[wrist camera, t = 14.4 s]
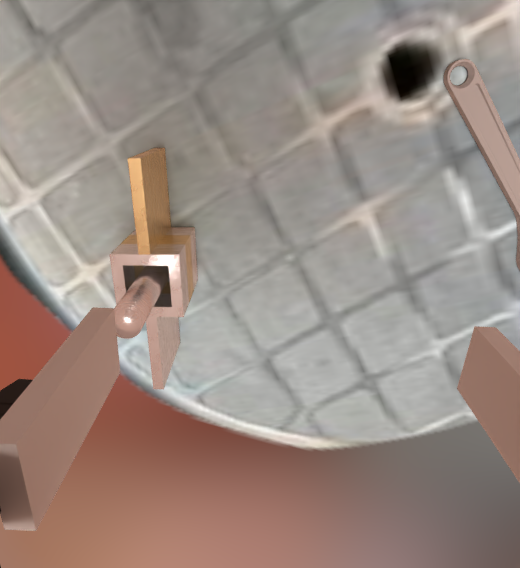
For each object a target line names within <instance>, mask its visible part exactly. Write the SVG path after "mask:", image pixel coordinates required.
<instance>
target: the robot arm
mask: <svg viewBox="0 0 520 568" xmlns="http://www.w3.org/2000/svg"><path fill="white" fill-rule="evenodd" d="M119 373H120V366H119V355H118V345H117V334H116V324H115V313H114V309H112V308H92V309H91V310H90V312H89V313H88V314H87V315H86V316H85V318H84V319H83V320H82V321H81V322H80V324H79V325H78V326H77V327H76V329H75V330H74V331H73V332H72V333H71V335H70V336H69V337H68V338H67V339H66V341H65V342H64V343H63V344H62V346H61V347H60V348H59V349H58V350H57V352H56V353H55V354H54V355H53V357H52V358H51V359H50V360H49V361H48V362H47V364H46V365H45V366H44V367H43V368H42V370H41V371H40V372H39V373H38V375H37V376H36V377H35V378H34V380H26V379H18V380H16V381H15V382H14V383H12V384H10V385H9V386H7V387H5V388H4V389H2V390H1V391H0V514H1V518H2V522H3V525H4V529H7V530H29V531H36V530H37V528H38V526H39V524H40V522H41V520H42V518H43V517H44V515H45V513H46V511H47V509H48V507H49V505H50V503H51V501H52V500H53V498H54V496H55V494H56V492H57V490H58V488H59V486H60V484H61V483H62V481H63V479H64V477H65V475H66V473H67V471H68V469H69V467H70V466H71V464H72V462H73V460H74V458H75V456H76V454H77V453H78V451H79V449H80V447H81V445H82V443H83V441H84V439H85V437H86V435H87V434H88V432H89V430H90V428H91V426H92V424H93V422H94V420H95V419H96V417H97V415H98V413H99V411H100V409H101V407H102V405H103V404H104V402H105V400H106V398H107V396H108V394H109V392H110V390H111V388H112V387H113V385H114V383H115V381H116V379H117V377H118V375H119ZM457 389H458V391H459V392H460V394H461V395H462V397H463V398H464V400H465V401H466V403H467V404H468V406H469V407H470V409H471V410H472V412H473V413H474V415H475V416H476V418H477V419H478V421H479V422H480V424H481V425H482V427H483V428H484V430H485V431H486V433H487V434H488V436H489V437H490V439H491V440H492V442H493V443H494V445H495V446H496V448H497V449H498V451H499V452H500V454H501V455H502V457H503V458H504V460H505V461H506V463H507V464H508V466H509V467H510V469H511V471H512V472H513V474H514V475H515V477H516V478H517V480H518V481H519V483H520V351H519V350H518V349H517V348H516V347H515V346H514V345H513V344H512V343H511V342H510V341H509V340H508V339H507V338H506V337H505V336H504V335H503V334H502V333H501V332H500V331H499V330H498V329H497V328H495V327H474V331H473V334H472V338H471V341H470V345H469V348H468V352H467V356H466V359H465V363H464V366H463V370H462V373H461V377H460V380H459V384H458V387H457ZM0 568H1V566H0Z"/></svg>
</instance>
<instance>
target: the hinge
mask: <svg viewBox="0 0 520 568" xmlns="http://www.w3.org/2000/svg"><path fill="white" fill-rule="evenodd" d="M128 165H129V174H130V183H131V192H132V201H133V210H134V218H135V227H136V229H135V230H134V231H133V232H132V233H131V234H130V235H129V236H128V237H127V238H126V239H125V240H124V241H123V242H122V243H121V244H120V245H119V246H118V247H117V248H116V249H115V250H114V251H113V252H112V253H111V254H110V261H111V268H112V275H113V282H114V289H115V297H116V304H118V303H119V301H120V300H121V299H122V297H123V296H124V294H125V293H126V292H127V290H128V289H129V288H130V286H131V285H132V284H133V282H134V281H135V280H136V278H137V277H138V276H139V274H140V273H141V271H142V270H143V269H144V267H145V266H169V280H168V281H167V283H166V285H165V287H164V289H163V291H162V292H161V294H160V296H159V298H158V300H157V301H156V303H155V305H154V307H153V309H152V311H151V312H150V314H149V316H148V318H147V320H146V325H147V334H148V343H149V352H150V361H151V370H152V379H153V388H154V389H164V387H165V384H166V381H167V379H168V376H169V373H170V370H171V367H172V364H173V362H174V359H175V356H176V353H177V350H178V348H179V345H180V333H179V320H178V317H184V315H185V312H186V310H187V307H188V304H189V302H190V299H191V297H192V294H193V291H194V289H195V286H196V283H197V281H198V274H197V257H196V240H195V227H171V219H170V207H169V194H168V181H167V169H166V156H165V148H153V149H150V150H148V151H145V152H143V153H140V154H138V155H135V156H133V157H130V158H128Z"/></svg>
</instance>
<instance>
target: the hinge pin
mask: <svg viewBox="0 0 520 568" xmlns="http://www.w3.org/2000/svg"><path fill="white" fill-rule="evenodd" d="M168 280H169V266H145V267H144V269H143V270H142V271H141V273H140V274H139V276H138V277H137V278H136V280H135V281H134V282H133V284H132V285H131V286H130V288H129V289H128V290H127V292H126V293H125V294H124V296H123V297H122V299H121V300H120V301H119V303H118V304H117V305H116V307H115V308H114V313H115V324H116V334H117V336H118V337H121V338H132V337H135V336H136V335H138V334H139V332H140V331H141V329H142V327H143V325H144V323H145V321H146V320H147V318H148V316H149V314H150V312H151V311H152V309H153V307H154V305H155V303H156V301H157V300H158V298H159V296H160V294H161V292H162V291H163V289H164V287H165V285H166V283H167V281H168Z"/></svg>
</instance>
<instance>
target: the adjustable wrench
mask: <svg viewBox="0 0 520 568" xmlns="http://www.w3.org/2000/svg"><path fill="white" fill-rule="evenodd" d="M457 66H464V67H466V69H467V70H468V78H467V80H466V82H465V83H463V84H462V85H459V86H456V85H453V84H452V83H451V81H450V74H451V72H452V70H453V69H454V68H455V67H457ZM444 84H445V86H446V88H447V90H448V92H449V94H450V95H451V97H452V99H453V101H454V103H455V105H456V107H457V108H458V110H459V112H460V114H461V116H462V118H463V120H464V121H465V123H466V125H467V127H468V129H469V131H470V132H471V134H472V136H473V138H474V140H475V142H476V144H477V145H478V147H479V149H480V151H481V153H482V155H483V156H484V158H485V160H486V162H487V164H488V166H489V168H490V169H491V171H492V173H493V175H494V177H495V179H496V180H497V182H498V184H499V186H500V188H501V190H502V192H503V193H504V195H505V197H506V199H507V201H508V203H509V204H510V206H511V208H512V210H513V212H514V214H515V217H516V221H517V232H518V244H517V255H516V262H517V266H518V268H519V270H520V159H519V157H518V155H517V153H516V151H515V149H514V146H513V144H512V142H511V140H510V138H509V136H508V134H507V132H506V129H505V127H504V125H503V123H502V121H501V119H500V117H499V115H498V112H497V110H496V108H495V106H494V104H493V102H492V100H491V97H490V95H489V93H488V91H487V89H486V87H485V85H484V83H483V80H482V78H481V76H480V74H479V72H478V70H477V68H476V66H475V64H474V63H473V62H472V61H470V60H468V59H462V60H457V61H455V62H453V63H451V64H450V65H449V66H448V67H447V69H446V70H445V73H444Z"/></svg>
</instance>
